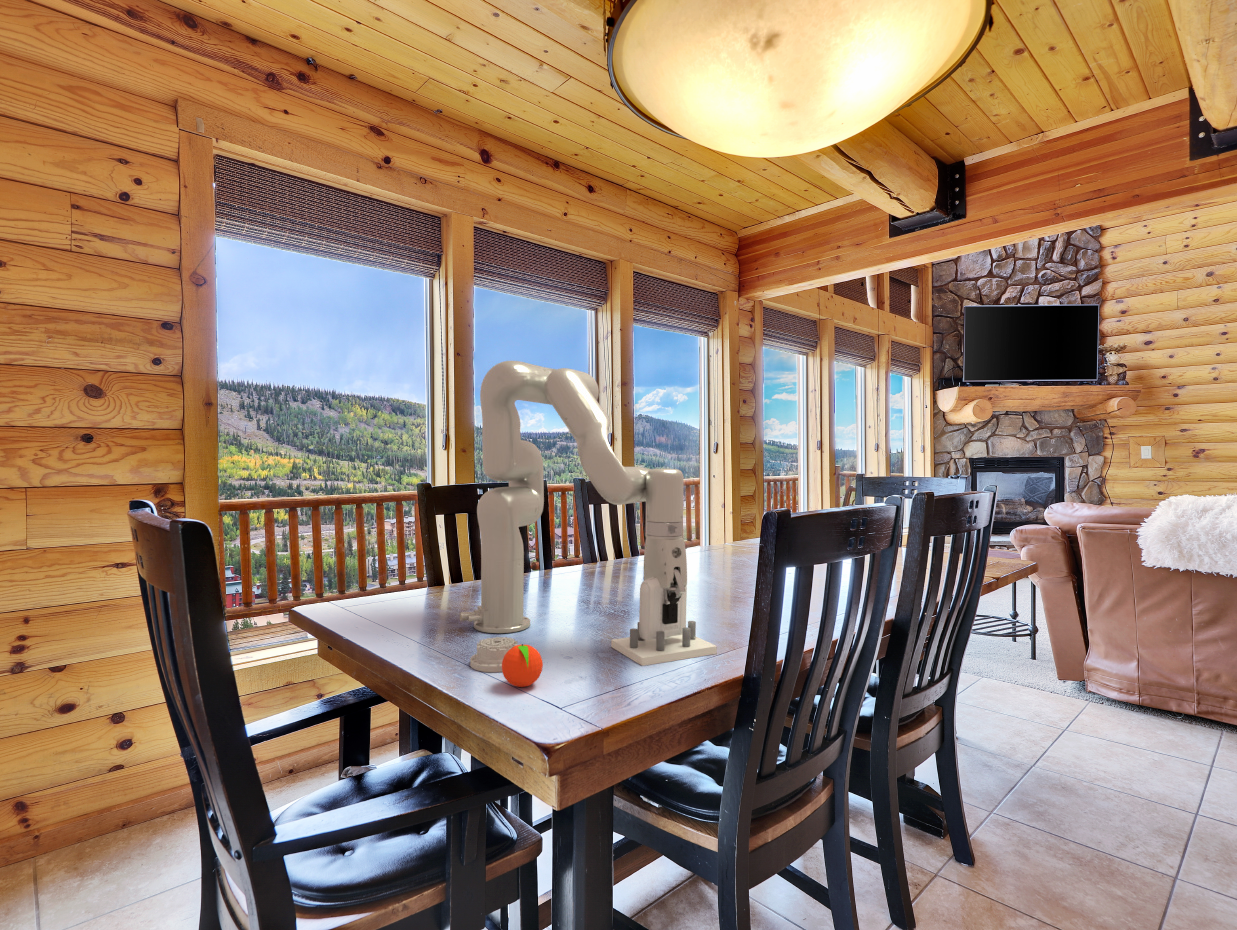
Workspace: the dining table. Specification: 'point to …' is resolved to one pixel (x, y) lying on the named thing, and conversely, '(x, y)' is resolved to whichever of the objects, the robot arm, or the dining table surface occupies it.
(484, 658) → the mechanical component
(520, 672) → the clementine
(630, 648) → the pin tray
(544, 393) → the robot arm
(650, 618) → the photo printer
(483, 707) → the dining table surface
